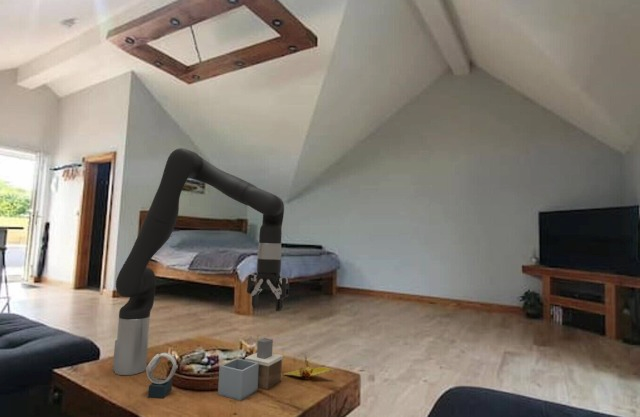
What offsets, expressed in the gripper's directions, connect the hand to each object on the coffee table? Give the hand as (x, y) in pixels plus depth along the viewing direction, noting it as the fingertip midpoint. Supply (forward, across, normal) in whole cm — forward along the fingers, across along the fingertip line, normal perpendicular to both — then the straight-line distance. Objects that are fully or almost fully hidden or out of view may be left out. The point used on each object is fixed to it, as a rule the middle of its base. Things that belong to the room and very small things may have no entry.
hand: (266, 309), depth 121 cm
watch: (+23, -20, -22) cm, 37 cm away
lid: (+15, 0, 0) cm, 15 cm away
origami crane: (+23, +10, +11) cm, 27 cm away
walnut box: (+22, 0, 0) cm, 22 cm away
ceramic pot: (+22, -2, -10) cm, 25 cm away
